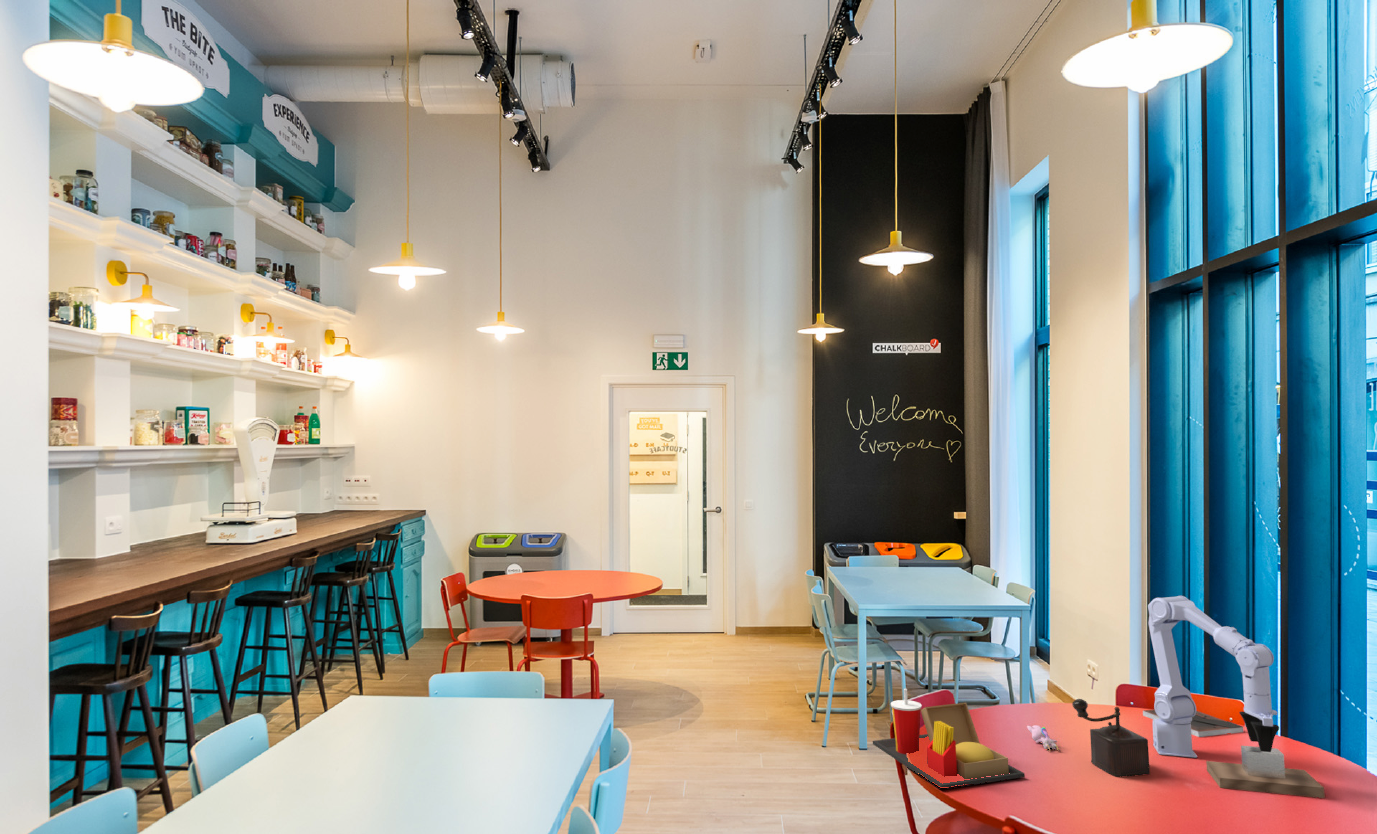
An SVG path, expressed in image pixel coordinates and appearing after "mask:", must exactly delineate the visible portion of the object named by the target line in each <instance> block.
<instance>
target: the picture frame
mask: <svg viewBox="0 0 1377 834" xmlns="http://www.w3.org/2000/svg"><path fill="white" fill-rule="evenodd" d="M1142 716H1143V717H1146V718H1148V719H1151V720H1153V719H1160V718H1159V716H1158V715H1157V714H1156V712H1155V708H1154V709H1147V710H1145V709H1144V710H1142ZM1227 733H1231V734H1237V733H1244V725H1243V726H1242V725H1239V724H1237V723H1234V722H1231V721H1228V720H1227V721H1226V720H1224V719H1221V718H1218V717H1216V716H1214V715H1210V714H1207V713H1204V712H1201V711H1198V710H1196V714H1195V715H1194V716H1193V717H1192V721H1191V735H1192V736H1196V737H1197V738H1202V737H1210V736H1220V735H1221V736H1222V735H1228V734H1227Z"/></svg>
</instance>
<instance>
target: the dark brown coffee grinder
mask: <svg viewBox="0 0 1377 834" xmlns="http://www.w3.org/2000/svg"><path fill="white" fill-rule="evenodd" d="M1071 704H1072V707H1073V709H1074V710H1075V711H1076V712H1077V714H1076V715H1077V717H1079V718H1082V719H1085V720H1086V721H1089V722H1094V723H1095V722H1096V723H1097V722H1098V723H1099V722H1104V721H1108V722H1107V724H1108V725H1107V726H1102V727H1100V728H1090V729H1089V732H1090V733H1089V734H1090V736H1089V737H1090V751H1091V755H1090V756H1091V760H1090V763H1092V764H1093V765H1094V766H1095V767H1096V766H1097V767H1096V768H1097V769H1099V770H1101V769H1102V771H1103V772H1105V773H1106V774H1108V775H1110V776H1113V777H1115V778H1123V777H1122V776H1127V777H1135V775H1138V776H1144V775H1143V774H1147V775H1150V774H1151V768H1150V756H1149V755H1150V754H1149V740H1148V738H1146V737H1144V736H1142V735H1141V734H1138V733H1136V732H1134V731H1132V730H1129V729H1127V728H1126V727H1124V726H1122V725H1121V724H1120V723H1121V722H1120V716H1121V712H1120V711H1121V710H1120V707H1119V706H1116V707H1114V713H1113V714H1111V715H1108V716H1104V717H1098V718H1097V717H1096V718H1092V717H1088V716H1089V713H1088V712H1087V709H1088V707H1089V706H1088V705H1089V704H1088V702H1087V701H1086V700H1085V699H1082V698H1077V699H1075V700H1073V702H1072V703H1071ZM1113 719H1115V724H1112V722H1110V721H1109V720H1113ZM1120 776H1121V777H1120Z"/></svg>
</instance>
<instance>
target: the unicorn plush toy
mask: <svg viewBox="0 0 1377 834" xmlns="http://www.w3.org/2000/svg"><path fill="white" fill-rule="evenodd" d="M1026 728H1027V729H1028V731H1029V732H1030V733H1031V738H1032V739H1033V741H1034V742H1035V743H1036V744H1037V743H1039V742H1042V743H1041V744H1042V745H1043V749H1044V750H1045V749H1049V750H1047V752H1048V751H1050V752H1052V749H1055V750H1058V751H1060V749H1059V746H1058V744H1056V743H1057V742H1058V741H1057V740H1056V739H1052V738H1050V736H1049V733H1048V732H1047V729H1046V727H1045V726H1042V727H1041V726H1040V725H1036V724H1035V725H1032V726H1031V725H1026ZM1050 748H1052V749H1050Z"/></svg>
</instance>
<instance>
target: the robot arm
mask: <svg viewBox="0 0 1377 834" xmlns="http://www.w3.org/2000/svg"><path fill="white" fill-rule="evenodd" d="M1147 608H1148V615H1149V617H1148V628H1149V629H1148V630H1149V632H1150V634H1149V635H1150V639H1151V644H1152V648H1153V654H1154V658H1155V659H1154V660H1155V664H1156V671H1157V674H1158V679H1159V685H1160V686H1158V688H1157V689H1156V690H1155V692H1154V705H1153V706H1154V707H1153V708H1154V709H1155V712H1156V714H1157V715H1158V716H1159V718H1160V719H1152V738H1153V740H1152V741H1153V747H1154V750H1156V752H1157V754H1159V755H1161V756H1162V755H1163V756H1174V757H1185V758H1196V759H1197V758H1198V755H1197V754H1196V753H1195V751H1194V750H1193V739H1192V738H1193V737H1192V736H1193V735H1192V734H1191V721H1192V717H1193V716H1194V715H1195V714H1196V711H1197V705H1196V703H1195V701H1194V699H1193V697H1192V694H1191V691H1190V690H1189V689H1188V688H1186V687H1185V686H1184V685H1183V682H1182V677H1181V673H1180V672H1181V671H1180V667H1179V662H1178V657H1177V653H1176V646H1175V642H1174V641H1175V640H1174V637H1173V633H1172V630H1173V628H1174V627H1175V626H1176V625H1177V624H1178V623H1179V622H1181V621H1187V622H1189V623H1191V624H1192V625H1194V626H1196V627H1198V628H1199V629H1201V630H1202V631H1204V632H1206V633H1208V634H1209V635H1210V636H1212V638H1213V641H1214V643H1215V644H1216V645H1217V646H1219V648H1220V647H1221V648H1222V649H1224V650H1225V651H1226V652H1228V653H1229V654H1230V655H1232V656H1233V657H1235V661H1236V662H1237V663H1238V665H1239V667H1240V673H1241V674H1242V686H1243V687H1242V689H1243V703H1244V706H1243V711H1238V712H1239V715H1240V716H1241V719H1242V720H1243V722H1244V725H1245V727H1246V731H1247V734H1248V738H1249V740H1250V742H1253V743H1254V742H1255V743H1257V744H1258V747H1259V748H1260V750H1261V751H1263V752H1271V750H1272V748H1273V745H1274V740H1275V737H1276V734H1277V733H1278V732H1279V731H1280V726H1279V725H1278V724H1274V720H1273V716H1277V715H1278V711H1277V710H1274V709H1272V697H1271V696H1272V695H1271V681H1270V667H1271V666H1272V665H1273V663H1274V659H1275V657H1274V653H1273V652H1272V650H1270V648H1269V647H1268V646H1267V645H1265V644H1262V643H1255V642H1254V641H1253V640H1252V639H1251V638H1249V639H1248V638H1247V637H1245V636H1243V634H1241V633H1240V632H1238V631H1237V630H1238V629H1237V628H1235V627H1234V626H1231V627H1230V626H1227V625H1226V626H1222V625H1221V624H1219V623H1218V622H1216V621H1215V620H1214V619H1212V618H1211V617H1210V616H1209V615H1207V614H1206V613H1204V612H1203V611H1202V610H1201V609H1199V608H1198V607H1197V606H1196V605H1195V602H1194V601H1192V600H1190V599H1189V598H1188V597H1186V596H1184V595H1178V596H1169V597H1167V596H1166V597H1155V598H1153V599H1152V600H1151V601H1150V602H1149V604H1148V605H1147Z"/></svg>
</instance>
